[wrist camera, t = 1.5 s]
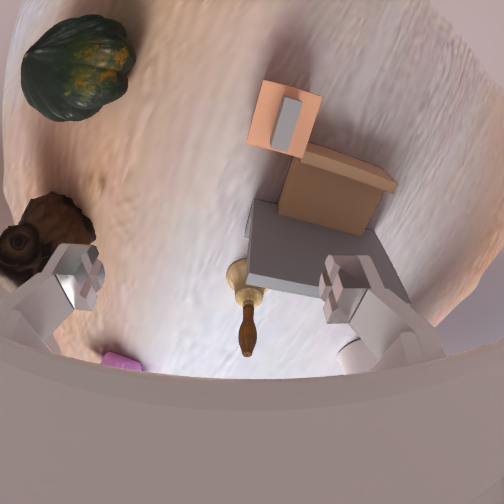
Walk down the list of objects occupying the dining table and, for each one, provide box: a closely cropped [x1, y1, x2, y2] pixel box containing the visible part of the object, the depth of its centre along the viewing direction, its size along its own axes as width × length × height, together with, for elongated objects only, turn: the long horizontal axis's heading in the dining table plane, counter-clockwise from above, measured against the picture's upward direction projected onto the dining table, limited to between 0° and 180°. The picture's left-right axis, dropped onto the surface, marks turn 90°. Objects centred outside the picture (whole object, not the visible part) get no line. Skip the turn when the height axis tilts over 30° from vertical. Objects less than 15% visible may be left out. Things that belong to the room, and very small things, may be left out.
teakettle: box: [101, 351, 142, 371], centre depth 68 cm, size 17×17×12 cm
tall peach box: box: [246, 79, 323, 158], centre depth 27 cm, size 6×7×11 cm
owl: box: [0, 192, 96, 294], centre depth 34 cm, size 13×13×20 cm
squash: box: [21, 14, 136, 122], centre depth 21 cm, size 14×15×15 cm
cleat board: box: [245, 142, 411, 306], centre depth 33 cm, size 20×16×16 cm
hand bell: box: [226, 259, 268, 357], centre depth 42 cm, size 8×8×16 cm
